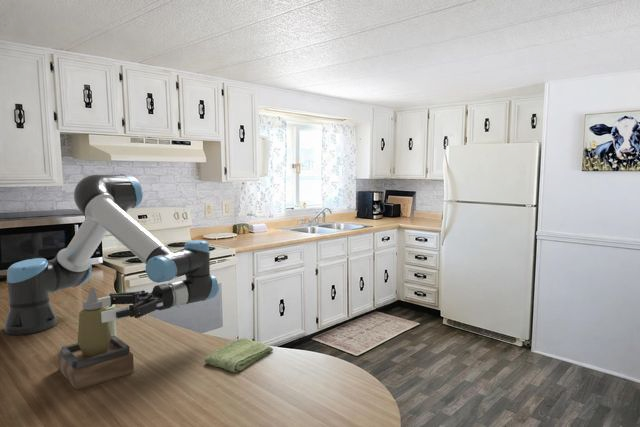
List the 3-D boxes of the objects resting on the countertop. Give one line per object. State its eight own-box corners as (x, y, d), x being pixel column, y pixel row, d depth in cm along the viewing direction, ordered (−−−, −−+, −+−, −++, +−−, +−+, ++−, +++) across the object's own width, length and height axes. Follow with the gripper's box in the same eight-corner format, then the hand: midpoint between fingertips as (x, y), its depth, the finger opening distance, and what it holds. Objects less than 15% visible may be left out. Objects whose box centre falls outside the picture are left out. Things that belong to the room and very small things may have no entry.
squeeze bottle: (86, 347, 119) (83, 284, 118) (116, 346, 120) (113, 284, 118) (72, 360, 111) (68, 292, 110) (104, 358, 112) (101, 292, 110)
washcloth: (275, 352, 129) (275, 342, 129) (236, 376, 114) (236, 364, 113) (241, 343, 135) (241, 334, 135) (200, 365, 120) (200, 354, 120)
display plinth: (59, 369, 117) (57, 346, 116) (112, 354, 126) (111, 333, 126) (76, 390, 105) (75, 365, 105) (133, 371, 115) (132, 348, 115)
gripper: (189, 317, 120) (110, 337, 106) (152, 299, 138) (80, 314, 123) (188, 291, 120) (108, 308, 105) (151, 276, 137) (78, 288, 123)
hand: (93, 311), depth 114 cm, fingers open, 13 cm apart
